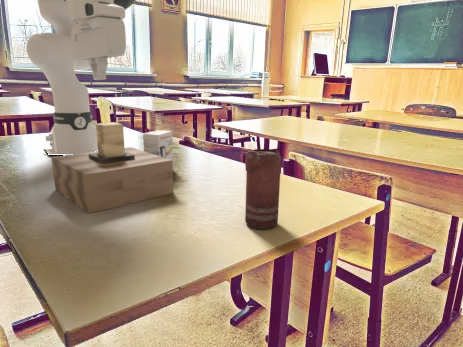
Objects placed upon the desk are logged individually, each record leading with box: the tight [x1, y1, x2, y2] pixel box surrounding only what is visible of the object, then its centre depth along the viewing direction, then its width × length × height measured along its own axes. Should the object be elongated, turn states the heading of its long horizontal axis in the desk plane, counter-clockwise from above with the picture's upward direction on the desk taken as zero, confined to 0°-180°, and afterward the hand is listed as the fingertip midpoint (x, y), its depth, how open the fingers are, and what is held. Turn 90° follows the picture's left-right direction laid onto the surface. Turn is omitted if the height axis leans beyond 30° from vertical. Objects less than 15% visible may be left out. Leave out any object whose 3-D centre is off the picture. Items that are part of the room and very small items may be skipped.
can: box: [244, 148, 282, 231], centre depth 66 cm, size 6×6×14 cm
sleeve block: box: [51, 146, 174, 214], centre depth 84 cm, size 20×20×9 cm
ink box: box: [142, 129, 175, 172], centre depth 100 cm, size 9×5×12 cm, turn 162°
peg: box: [95, 121, 125, 158], centre depth 82 cm, size 4×4×9 cm
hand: (100, 80), depth 80 cm, fingers closed
